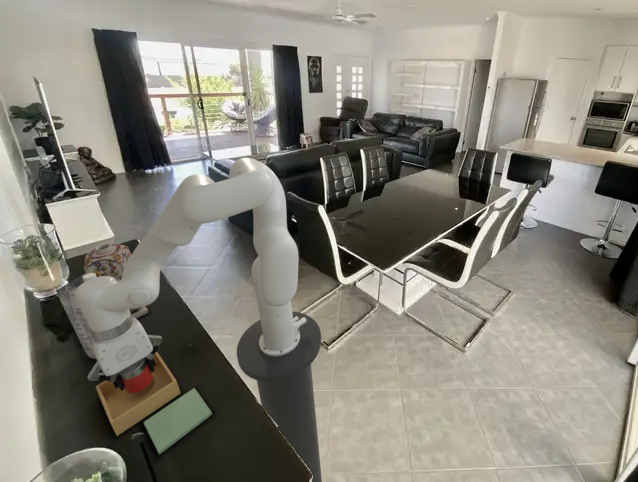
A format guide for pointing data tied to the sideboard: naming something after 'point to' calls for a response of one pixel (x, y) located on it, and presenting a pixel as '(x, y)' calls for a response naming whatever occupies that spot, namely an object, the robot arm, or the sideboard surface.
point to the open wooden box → (133, 410)
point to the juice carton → (77, 311)
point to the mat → (177, 420)
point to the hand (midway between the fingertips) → (136, 377)
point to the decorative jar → (107, 260)
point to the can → (137, 379)
